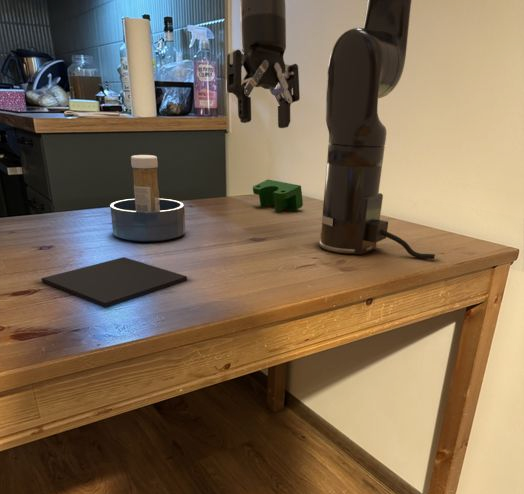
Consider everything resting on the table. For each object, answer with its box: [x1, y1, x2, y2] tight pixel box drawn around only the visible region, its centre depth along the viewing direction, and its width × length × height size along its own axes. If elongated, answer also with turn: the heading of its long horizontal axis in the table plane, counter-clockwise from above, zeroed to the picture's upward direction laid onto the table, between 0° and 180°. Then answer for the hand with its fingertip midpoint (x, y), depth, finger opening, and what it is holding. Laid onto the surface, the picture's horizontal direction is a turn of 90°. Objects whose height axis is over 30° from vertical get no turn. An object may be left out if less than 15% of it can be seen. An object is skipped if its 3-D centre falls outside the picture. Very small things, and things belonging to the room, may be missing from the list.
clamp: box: [252, 179, 304, 213], centre depth 119 cm, size 12×6×9 cm, turn 37°
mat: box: [41, 256, 188, 308], centre depth 70 cm, size 14×14×1 cm
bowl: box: [109, 198, 186, 243], centre depth 93 cm, size 13×13×6 cm
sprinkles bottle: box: [130, 154, 160, 211], centre depth 91 cm, size 5×5×13 cm
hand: (265, 124), depth 87 cm, fingers open, 8 cm apart
